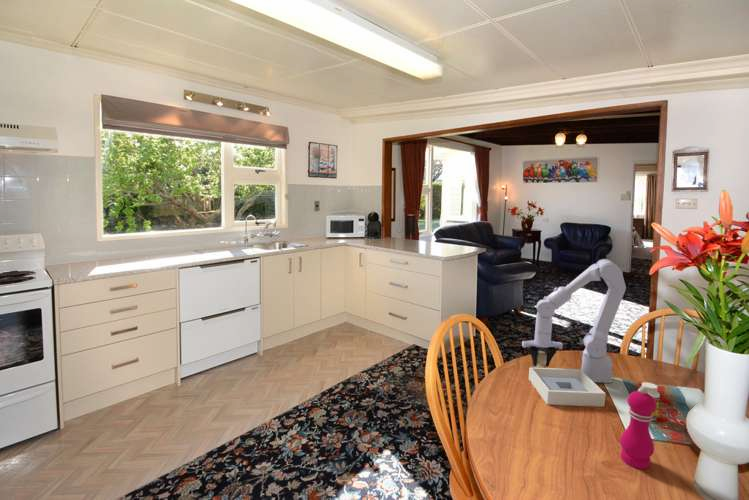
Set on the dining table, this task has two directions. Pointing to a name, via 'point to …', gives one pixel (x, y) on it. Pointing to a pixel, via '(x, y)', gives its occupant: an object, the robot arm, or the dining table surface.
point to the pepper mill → (638, 430)
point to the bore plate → (563, 384)
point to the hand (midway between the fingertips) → (540, 365)
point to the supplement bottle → (653, 392)
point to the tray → (567, 397)
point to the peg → (541, 359)
